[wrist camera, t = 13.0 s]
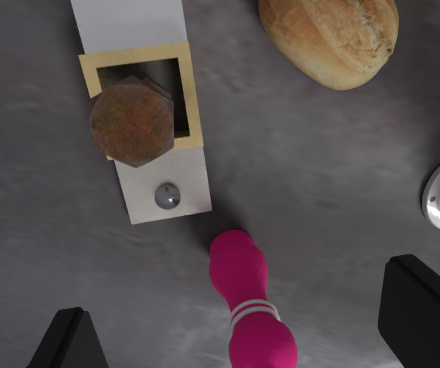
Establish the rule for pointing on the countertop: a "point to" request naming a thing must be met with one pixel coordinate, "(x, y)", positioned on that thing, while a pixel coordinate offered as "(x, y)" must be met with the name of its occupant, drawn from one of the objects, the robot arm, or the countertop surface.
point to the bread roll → (333, 37)
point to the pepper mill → (249, 304)
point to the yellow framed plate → (179, 48)
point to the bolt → (133, 121)
